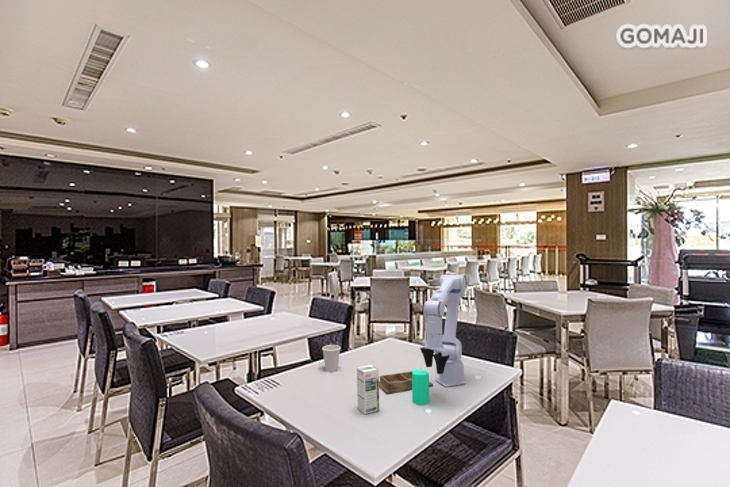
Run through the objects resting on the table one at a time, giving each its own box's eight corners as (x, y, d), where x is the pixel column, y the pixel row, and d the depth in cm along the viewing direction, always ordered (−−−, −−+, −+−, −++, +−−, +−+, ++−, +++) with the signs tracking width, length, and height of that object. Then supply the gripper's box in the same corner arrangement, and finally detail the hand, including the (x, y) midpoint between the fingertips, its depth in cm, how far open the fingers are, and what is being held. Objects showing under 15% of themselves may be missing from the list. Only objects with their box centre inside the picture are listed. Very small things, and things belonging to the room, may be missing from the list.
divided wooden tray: (420, 377, 156) (419, 369, 156) (432, 386, 147) (432, 377, 147) (376, 384, 149) (376, 375, 149) (386, 394, 140) (386, 385, 139)
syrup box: (364, 415, 123) (364, 371, 123) (356, 407, 129) (356, 366, 129) (379, 411, 126) (379, 368, 126) (371, 404, 131) (370, 363, 131)
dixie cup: (344, 368, 168) (344, 346, 168) (333, 374, 161) (333, 351, 161) (330, 365, 173) (329, 343, 173) (318, 370, 166) (318, 348, 166)
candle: (428, 405, 130) (428, 371, 130) (411, 404, 131) (411, 370, 131) (429, 398, 136) (429, 365, 136) (413, 397, 137) (412, 364, 137)
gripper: (414, 329, 141) (415, 365, 141) (435, 339, 127) (435, 378, 127) (431, 328, 143) (431, 363, 143) (452, 337, 130) (453, 375, 130)
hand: (434, 370), depth 135 cm, fingers open, 7 cm apart
